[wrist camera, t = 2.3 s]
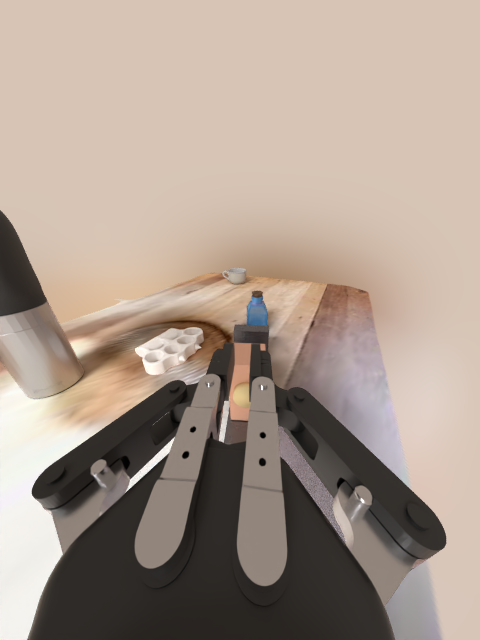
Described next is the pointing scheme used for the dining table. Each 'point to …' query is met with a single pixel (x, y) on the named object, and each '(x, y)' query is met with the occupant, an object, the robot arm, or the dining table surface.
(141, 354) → the white brass knuckles
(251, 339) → the rail
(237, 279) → the teacup
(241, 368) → the carriage
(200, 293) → the dining table surface
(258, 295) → the perfume bottle
